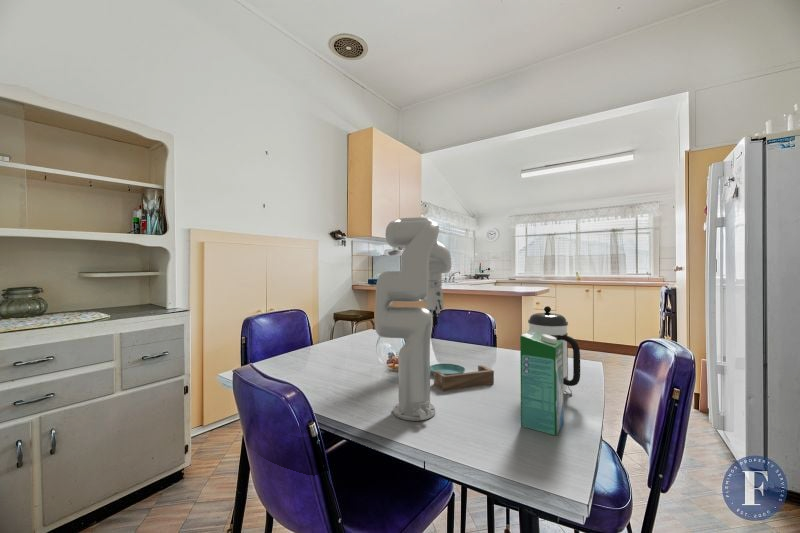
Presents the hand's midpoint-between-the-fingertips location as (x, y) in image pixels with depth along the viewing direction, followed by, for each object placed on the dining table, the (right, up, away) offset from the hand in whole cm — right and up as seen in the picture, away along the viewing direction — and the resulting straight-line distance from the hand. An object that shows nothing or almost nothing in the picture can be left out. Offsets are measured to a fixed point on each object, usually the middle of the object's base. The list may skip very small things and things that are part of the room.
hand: (433, 325), depth 148 cm
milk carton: (+24, -18, -57) cm, 64 cm away
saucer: (+4, -19, -12) cm, 22 cm away
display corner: (+9, -18, -24) cm, 31 cm away
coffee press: (+38, -18, -33) cm, 54 cm away
